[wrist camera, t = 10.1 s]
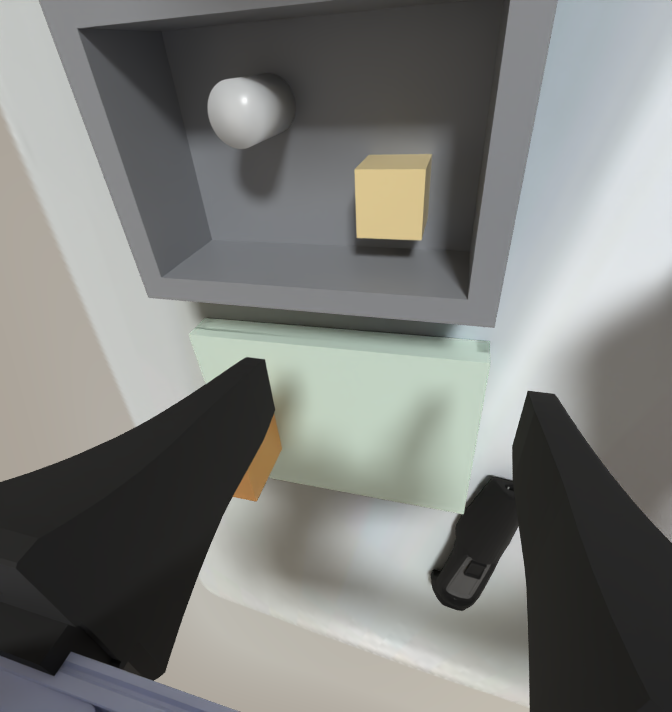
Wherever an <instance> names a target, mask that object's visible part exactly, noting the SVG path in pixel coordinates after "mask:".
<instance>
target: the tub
mask: <svg viewBox="0 0 672 712" xmlns="http://www.w3.org/2000/svg"><path fill="white" fill-rule="evenodd" d="M39 2H40V5H41V8H42V11H43V13H44V16H45V19H46V21H47V24H48V27H49V29H50V32H51V35H52V38H53V40H54V43H55V46H56V48H57V51H58V54H59V57H60V59H61V62H62V65H63V67H64V70H65V73H66V76H67V78H68V81H69V84H70V86H71V89H72V92H73V94H74V97H75V100H76V103H77V105H78V108H79V111H80V113H81V116H82V119H83V122H84V124H85V127H86V130H87V132H88V135H89V138H90V141H91V143H92V146H93V149H94V151H95V154H96V157H97V159H98V162H99V165H100V168H101V170H102V173H103V176H104V178H105V181H106V184H107V187H108V189H109V192H110V195H111V197H112V200H113V203H114V206H115V208H116V211H117V214H118V216H119V219H120V222H121V225H122V227H123V230H124V233H125V235H126V238H127V241H128V243H129V246H130V249H131V252H132V254H133V257H134V260H135V262H136V265H137V268H138V271H139V273H140V276H141V279H142V281H143V284H144V287H145V290H146V292H147V295H148V298H158V299H169V300H181V301H192V302H204V303H215V304H227V305H238V306H250V307H261V308H273V309H285V310H296V311H308V312H319V313H331V314H342V315H354V316H365V317H377V318H388V319H400V320H411V321H423V322H435V323H446V324H458V325H469V326H481V327H492V328H494V327H495V322H496V317H497V312H498V307H499V301H500V296H501V291H502V286H503V281H504V276H505V270H506V265H507V260H508V255H509V250H510V245H511V239H512V234H513V229H514V224H515V219H516V214H517V208H518V203H519V198H520V193H521V188H522V183H523V177H524V172H525V167H526V162H527V157H528V152H529V146H530V141H531V136H532V131H533V126H534V121H535V115H536V110H537V105H538V100H539V95H540V90H541V84H542V79H543V74H544V69H545V64H546V59H547V53H548V48H549V43H550V38H551V33H552V28H553V22H554V17H555V12H556V7H557V2H558V0H39Z"/></svg>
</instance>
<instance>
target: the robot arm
mask: <svg viewBox="0 0 672 712" xmlns="http://www.w3.org/2000/svg"><path fill="white" fill-rule="evenodd" d="M274 412H275V406H274V401H273V396H272V391H271V386H270V381H269V376H268V372H267V367H266V362H265V359H259V358H251V357H246V358H244V359H242V360H241V361H239V362H237V363H236V364H234V365H233V366H231V367H230V368H229V369H227V370H226V371H224V372H223V373H221V374H220V375H218V376H217V377H215V378H214V379H213V380H211V381H210V382H208V383H207V384H205V385H204V386H202V387H201V388H199V389H198V390H196V391H195V392H193V393H192V394H190V395H189V396H187V397H186V398H184V399H183V400H181V401H179V402H178V403H176V404H175V405H173V406H171V407H170V408H168V409H166V410H165V411H163V412H162V413H160V414H158V415H157V416H155V417H153V418H152V419H150V420H148V421H146V422H144V423H143V424H141V425H139V426H137V427H135V428H133V429H131V430H129V431H127V432H125V433H124V434H122V435H120V436H118V437H116V438H113V439H111V440H109V441H107V442H105V443H102V444H100V445H98V446H96V447H94V448H92V449H89V450H87V451H84V452H82V453H80V454H78V455H75V456H73V457H71V458H68V459H65V460H63V461H60V462H58V463H55V464H53V465H50V466H47V467H44V468H42V469H39V470H36V471H33V472H30V473H28V474H24V475H22V476H18V477H15V478H12V479H9V480H6V481H3V482H0V712H239V711H236V710H234V709H231V708H228V707H225V706H222V705H220V704H217V703H214V702H211V701H208V700H206V699H203V698H200V697H197V696H194V695H191V694H188V693H186V692H183V691H180V690H177V689H175V688H172V687H169V686H166V685H163V684H160V683H158V682H155V681H154V680H155V679H157V678H159V677H160V676H161V675H163V673H165V671H166V668H167V664H168V661H169V658H170V655H171V652H172V648H173V645H174V643H175V639H176V636H177V633H178V630H179V627H180V624H181V621H182V618H183V615H184V613H185V610H186V607H187V604H188V601H189V599H190V596H191V593H192V590H193V588H194V585H195V582H196V580H197V577H198V575H199V572H200V570H201V567H202V564H203V562H204V559H205V557H206V554H207V552H208V549H209V547H210V544H211V542H212V540H213V537H214V535H215V533H216V530H217V528H218V526H219V523H220V521H221V519H222V516H223V514H224V512H225V510H226V508H227V506H228V504H229V502H230V501H231V499H232V497H233V495H234V493H235V492H236V490H237V488H238V486H239V484H240V483H241V481H242V479H243V477H244V475H245V473H246V472H247V470H248V468H249V466H250V464H251V463H252V461H253V459H254V457H255V455H256V454H257V452H258V450H259V448H260V446H261V444H262V442H263V440H264V438H265V436H266V433H267V431H268V428H269V426H270V423H271V420H272V418H273V415H274ZM512 462H513V487H514V495H515V502H516V509H517V517H518V524H519V531H520V538H521V545H522V552H523V559H524V566H525V576H526V587H527V611H528V641H529V688H530V712H672V543H671V542H670V541H669V540H668V539H667V538H666V537H665V536H664V535H663V534H662V533H661V531H660V530H659V529H658V528H657V527H656V526H655V525H654V524H653V523H652V522H651V521H650V520H649V519H648V518H647V517H646V515H645V514H644V513H643V512H642V511H641V510H640V509H639V507H638V506H637V505H636V504H635V503H634V502H633V501H632V499H631V498H630V497H629V496H628V495H627V493H626V492H625V491H624V490H623V488H622V487H621V486H620V485H619V484H618V482H617V481H616V480H615V479H614V477H613V476H612V475H611V474H610V472H609V471H608V470H607V468H606V467H605V466H604V464H603V463H602V462H601V460H600V459H599V458H598V456H597V455H596V454H595V452H594V451H593V450H592V448H591V447H590V445H589V444H588V443H587V441H586V440H585V438H584V437H583V436H582V434H581V433H580V431H579V430H578V428H577V427H576V425H575V424H574V422H573V421H572V419H571V418H570V416H569V415H568V413H567V412H566V410H565V408H564V407H563V405H562V404H561V402H560V401H559V399H558V398H557V397H556V395H555V394H550V393H542V392H534V391H528V392H527V396H526V399H525V403H524V407H523V410H522V414H521V417H520V421H519V424H518V428H517V432H516V435H515V439H514V442H513V446H512Z"/></svg>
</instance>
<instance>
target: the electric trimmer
mask: <svg viewBox="0 0 672 712" xmlns="http://www.w3.org/2000/svg"><path fill="white" fill-rule="evenodd" d="M518 526H519V524H518V517H517V509H516V502H515V495H514V487H513V482H512V481H508V480H504V479H501V478H497V477H495V478H492V479H491V480H490V481H489V483H488V484H487V485H486V486H485V487H484V488H483V490H482V491H481V492H480V493H479V495H478V496H477V497H476V498H475V500H474V501H473V502H472V503H471V505H470V506H469V507H468V508H467V510H466V511H465V512H464V514H463V515H462V517H461V518H460V519H459V521H458V522H457V524H456V539H455V544H454V548H453V550H452V552H451V554H450V556H449V558H448V560H447V562H446V564H445V566H444V568H443V570H442V571H438V570H433V571H432V573H431V580H432V581H431V583H432V588H433V591H434V593H435V595H436V597H437V598H438V600H439V601H440V602H441V603H442V604H443V605H445V606H447V607H449V608H452V609H455V610H460V611H463V610H465V609H466V608H469V607H470V606H472V605H473V604H474V603H475V602H476V600H477V599H478V598H479V597H480V595H481V593H482V591H483V590H484V588H485V586H486V584H487V582H488V580H489V579H490V577H491V575H492V573H493V571H494V569H495V567H496V565H497V563H498V561H499V559H500V557H501V556H502V554H503V552H504V551H505V549H506V548H507V546H508V545H509V543H510V541H511V539H512V537H513V536H514V534H515V532H516V530H517V528H518Z"/></svg>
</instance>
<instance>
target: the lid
mask: <svg viewBox="0 0 672 712" xmlns="http://www.w3.org/2000/svg"><path fill="white" fill-rule="evenodd" d="M189 337H190V340H191V343H192V346H193V349H194V352H195V355H196V358H197V361H198V363H199V366H200V369H201V372H202V375H203V378H204V381H205V384H207V383H208V382H210V381H211V380H213V379H214V378H215V377H217V376H218V375H220V374H221V373H223V372H224V371H226V370H227V369H229V368H230V367H231V366H233V365H234V364H236V363H237V362H239V361H241V360H242V359H244V358H246V357H251V358H259V359H265V362H266V367H267V372H268V376H269V381H270V386H271V391H272V396H273V401H274V406H275V412H274V415H273V418H272V420H271V423H270V426H269V428H268V431H267V433H266V436H265V438H264V440H263V442H262V444H261V446H260V448H259V450H258V452H257V454H256V455H255V457H254V459H253V461H252V463H251V464H250V466H249V468H248V470H247V472H246V473H245V475H244V477H243V479H242V481H241V483H240V484H239V486H238V488H237V490H236V492H235V493H234V495H233V497H237V498H242V499H247V500H252V501H256V502H257V500H258V498H259V496H260V494H261V492H262V490H263V488H264V485H265V483H266V481H267V479H268V478H271V479H277V480H282V481H288V482H293V483H298V484H304V485H309V486H314V487H320V488H325V489H330V490H336V491H341V492H346V493H352V494H357V495H362V496H368V497H373V498H378V499H384V500H389V501H394V502H400V503H405V504H411V505H416V506H421V507H427V508H432V509H437V510H443V511H448V512H453V513H459V514H464V509H465V504H466V498H467V492H468V487H469V481H470V476H471V470H472V464H473V459H474V453H475V447H476V442H477V436H478V431H479V425H480V419H481V414H482V408H483V402H484V397H485V391H486V386H487V380H488V374H489V369H490V341H480V340H468V339H456V338H443V337H431V336H419V335H407V334H395V333H383V332H370V331H358V330H346V329H334V328H322V327H310V326H297V325H285V324H273V323H261V322H249V321H237V320H224V319H212V318H205V319H204V320H203V321H202V322H201V323H200V324H199V325H198V326H197V327H196V328H195V329H194V330H193V331H192V332H191V333H190V334H189Z"/></svg>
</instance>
